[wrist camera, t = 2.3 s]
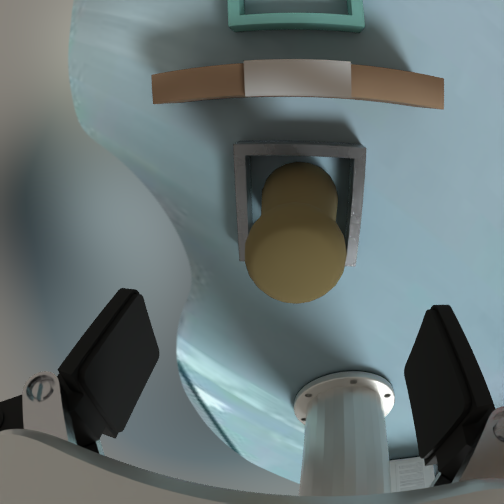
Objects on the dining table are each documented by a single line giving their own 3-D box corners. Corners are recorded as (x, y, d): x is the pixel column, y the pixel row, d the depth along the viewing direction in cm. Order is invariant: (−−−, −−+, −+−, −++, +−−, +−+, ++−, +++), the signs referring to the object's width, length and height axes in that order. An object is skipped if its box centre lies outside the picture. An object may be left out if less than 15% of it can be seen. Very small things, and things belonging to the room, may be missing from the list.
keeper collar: (352, 254, 25) (355, 266, 23) (244, 250, 27) (239, 261, 25) (361, 144, 21) (366, 148, 19) (239, 141, 23) (233, 144, 21)
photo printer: (377, 468, 43) (378, 524, 32) (382, 459, 41) (385, 519, 30) (426, 461, 41) (433, 515, 30) (434, 451, 39) (442, 508, 28)
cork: (247, 210, 25) (209, 284, 15) (286, 146, 22) (270, 181, 13) (310, 247, 26) (310, 338, 16) (353, 189, 23) (385, 255, 13)
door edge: (417, 108, 19) (446, 111, 14) (182, 103, 22) (150, 105, 17) (417, 80, 18) (446, 76, 13) (180, 77, 21) (148, 73, 16)
